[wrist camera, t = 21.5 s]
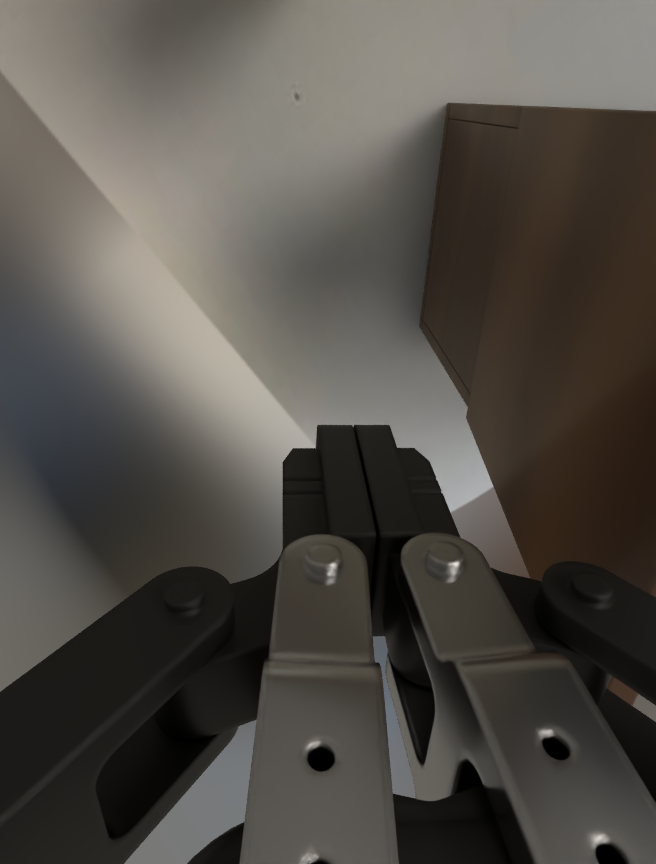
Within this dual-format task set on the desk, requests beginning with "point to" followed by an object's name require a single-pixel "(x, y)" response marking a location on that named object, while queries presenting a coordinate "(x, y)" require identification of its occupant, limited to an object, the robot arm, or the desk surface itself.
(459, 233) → the chest
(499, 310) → the lid
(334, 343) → the desk surface
